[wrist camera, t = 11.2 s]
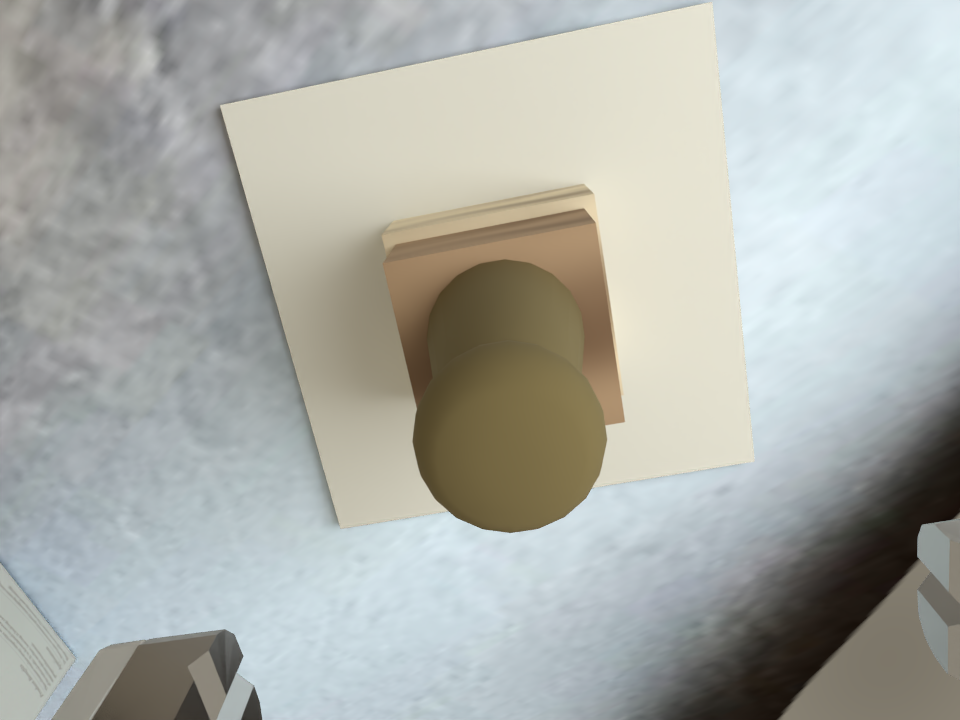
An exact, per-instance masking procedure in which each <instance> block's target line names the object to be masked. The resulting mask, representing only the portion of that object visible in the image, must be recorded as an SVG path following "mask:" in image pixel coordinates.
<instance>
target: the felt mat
mask: <svg viewBox="0 0 960 720" xmlns="http://www.w3.org/2000/svg"><path fill="white" fill-rule="evenodd" d="M220 107H221V111H222V114H223V118H224V121H225V125H226V128H227V132H228V135H229V139H230V142H231V146H232V149H233V153H234V156H235V160H236V163H237V167H238V170H239V174H240V177H241V181H242V184H243V188H244V191H245V195H246V199H247V202H248V206H249V209H250V213H251V216H252V220H253V223H254V227H255V230H256V234H257V237H258V241H259V244H260V248H261V251H262V255H263V258H264V262H265V265H266V269H267V272H268V276H269V279H270V283H271V286H272V290H273V293H274V297H275V300H276V304H277V307H278V311H279V314H280V318H281V321H282V325H283V328H284V332H285V335H286V339H287V343H288V346H289V350H290V353H291V357H292V360H293V364H294V367H295V371H296V374H297V378H298V381H299V385H300V388H301V392H302V395H303V399H304V402H305V406H306V409H307V413H308V416H309V420H310V423H311V427H312V430H313V434H314V437H315V441H316V444H317V448H318V451H319V455H320V458H321V462H322V465H323V469H324V472H325V476H326V479H327V483H328V487H329V490H330V494H331V497H332V501H333V504H334V508H335V511H336V515H337V518H338V522H339V525H340V529H343V528H349V527H355V526H362V525H368V524H374V523H380V522H386V521H392V520H398V519H404V518H411V517H417V516H423V515H429V514H435V513H441V512H447V511H448V510H447V509H446V508H444V507H443V506H442V505H441V504H440V503H439V502H437V501H436V500H435V498H434V497H433V495H432V494H431V492H430V490H429V489H428V487H427V485H426V484H425V482H424V481H423V479H422V477H421V475H420V472H419V469H418V465H417V460H416V456H415V451H414V447H413V443H412V440H413V432H414V423H415V415H416V411H417V407H416V403H415V399H414V395H413V390H412V386H411V382H410V378H409V373H408V369H407V365H406V361H405V356H404V352H403V348H402V344H401V340H400V335H399V331H398V327H397V323H396V318H395V314H394V310H393V306H392V302H391V297H390V293H389V289H388V285H387V280H386V276H385V272H384V268H383V264H382V263H383V262H384V261H385V259H386V258H387V257H386V253H385V248H384V244H383V240H382V236H381V235H382V234H383V232H384V231H385V230H386V229H387V228H388V227H389V225H390V224H391V223H392V222H393V221H395V220H400V219H405V218H410V217H416V216H421V215H426V214H431V213H436V212H441V211H446V210H452V209H457V208H462V207H467V206H472V205H477V204H482V203H488V202H493V201H498V200H503V199H508V198H513V197H518V196H524V195H529V194H534V193H539V192H544V191H549V190H554V189H560V188H565V187H570V186H575V185H580V184H585V185H586V186H587V187H588V188H589V189H590V190H591V191H592V192H593V193H594V195H595V202H596V208H597V215H598V222H599V229H600V236H601V243H602V250H603V256H604V263H605V270H606V277H607V284H608V291H609V298H610V304H611V311H612V318H613V325H614V332H615V339H616V346H617V352H618V359H619V366H620V373H621V380H622V387H623V394H624V395H621V397H622V404H623V411H624V418H625V422H623V423H617V424H611V425H605V427H606V434H607V444H606V448H605V453H604V458H603V463H602V468H601V471H600V475H599V477H598V478H597V480H596V482H595V483H594V485H593V487H592V488H595V487H601V486H607V485H613V484H619V483H625V482H631V481H638V480H644V479H650V478H656V477H662V476H668V475H674V474H681V473H687V472H693V471H699V470H705V469H711V468H717V467H723V466H730V465H736V464H742V463H748V462H754V450H753V439H752V428H751V418H750V407H749V396H748V385H747V374H746V363H745V352H744V342H743V331H742V320H741V309H740V298H739V287H738V276H737V265H736V255H735V244H734V233H733V222H732V211H731V200H730V189H729V179H728V168H727V157H726V146H725V135H724V124H723V113H722V102H721V92H720V81H719V70H718V59H717V48H716V37H715V26H714V16H713V5H712V2H709V3H704V4H700V5H695V6H690V7H685V8H681V9H676V10H671V11H666V12H661V13H657V14H652V15H647V16H642V17H638V18H633V19H628V20H623V21H619V22H614V23H609V24H604V25H600V26H595V27H590V28H585V29H581V30H576V31H571V32H566V33H562V34H557V35H552V36H547V37H543V38H538V39H533V40H528V41H524V42H519V43H514V44H509V45H505V46H500V47H495V48H490V49H486V50H481V51H476V52H471V53H466V54H462V55H457V56H452V57H447V58H443V59H438V60H433V61H428V62H424V63H419V64H414V65H409V66H405V67H400V68H395V69H390V70H386V71H381V72H376V73H371V74H367V75H362V76H357V77H352V78H348V79H343V80H338V81H333V82H329V83H324V84H319V85H314V86H310V87H305V88H300V89H295V90H291V91H286V92H281V93H276V94H271V95H267V96H262V97H257V98H252V99H248V100H243V101H238V102H233V103H229V104H224V105H220Z"/></svg>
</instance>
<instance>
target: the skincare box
mask: <svg viewBox="0 0 960 720" xmlns="http://www.w3.org/2000/svg"><path fill="white" fill-rule="evenodd" d="M75 660H76V658H75V656H74V655H73V654H72V652H71V651H70V650H69V648H68V647H67V646H66V645H65V644H64V642H63V641H62V640H61V639H60V638H59V636H58V635H57V634H56V632H55V631H54V630H53V629H52V627H51V626H50V625H49V624H48V622H47V621H46V620H45V618H44V617H43V616H42V615H41V613H40V612H39V611H38V610H37V608H36V607H35V606H34V605H33V603H32V602H31V601H30V600H29V598H28V597H27V596H26V594H25V593H24V592H23V591H22V589H21V588H20V587H19V586H18V584H17V583H16V582H15V581H14V579H13V578H12V577H11V576H10V574H9V573H8V572H7V571H6V569H5V568H4V567H3V565H2V564H1V563H0V720H35V719H36V717H37V716H38V714H39V713H40V711H41V710H42V708H43V707H44V705H45V704H46V702H47V701H48V699H49V698H50V696H51V695H52V694H53V692H54V691H55V689H56V688H57V686H58V685H59V683H60V682H61V680H62V679H63V677H64V676H65V674H66V673H67V671H68V670H69V668H70V667H71V666H72V664H73V663H74V661H75Z"/></svg>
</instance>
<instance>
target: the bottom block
mask: <svg viewBox="0 0 960 720" xmlns="http://www.w3.org/2000/svg"><path fill="white" fill-rule="evenodd" d="M583 208H584V209H585V210H586V211H587V212H588V214H589V215H590V216H591V217H592V219H593V220H594V221H595V222H596V227H597V234H598V241H599V248H600V255H601V261H602V268H603V275H604V282H605V289H606V295H607V302H608V309H609V316H610V323H611V329H612V336H613V343H614V350H615V357H616V363H617V370H618V377H619V384H620V391H621V395H624V394H623V387H622V380H621V373H620V366H619V359H618V352H617V346H616V339H615V332H614V325H613V318H612V311H611V304H610V298H609V291H608V284H607V277H606V270H605V263H604V256H603V250H602V243H601V236H600V229H599V222H598V215H597V208H596V202H595V195H594V193H593V192H592V191H591V190H590V189H589V188H588V187H587V186H586V185H585V184H580V185H575V186H570V187H565V188H560V189H554V190H549V191H544V192H539V193H534V194H529V195H524V196H518V197H513V198H508V199H503V200H498V201H493V202H488V203H482V204H477V205H472V206H467V207H462V208H457V209H452V210H446V211H441V212H436V213H431V214H426V215H421V216H416V217H410V218H405V219H400V220H395V221H393V222H392V223H391V224H390V225H389V227H388V228H387V229H386V230H385V231H384V232H383V234H382V235H381V236H382V240H383V244H384V248H385V253H386V257H387V256H388V255H389V253H390V252H391V250H392V249H393V247H394V246H395V245H396V244H400V243H406V242H411V241H416V240H421V239H426V238H432V237H437V236H442V235H447V234H452V233H458V232H463V231H468V230H473V229H478V228H484V227H489V226H494V225H499V224H505V223H510V222H515V221H520V220H525V219H531V218H536V217H541V216H546V215H551V214H557V213H562V212H567V211H572V210H578V209H583Z"/></svg>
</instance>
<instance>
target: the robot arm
mask: <svg viewBox="0 0 960 720" xmlns="http://www.w3.org/2000/svg"><path fill="white" fill-rule="evenodd" d="M918 558H919V559H920V560H921V561H922V562H923V563H924V564H925V566H926V567H927V568H928V569H929V570H930V571H931V572H930V574H929V575H928V576H927V578H926V579H925V580H924V581H923V583H922V584H921V585H920V587H919V588H918V610H919V617H920V620H921V624H922V628H923V631H924V635H925V638H926V640H927V642H928V644H929V646H930V648H931V650H932V652H933V654H934V656H935V657H936V659H937V660H938V662H939V663H940V664H941V665H942V667H943V668H944V670H945V671H946V672H947V674H949V675H950V676H953V677H955V678H956V679H958V680H960V519H956V520H949V521H943V522H937V523H931V524H925V525H922V527H921V530H920V532H919V535H918ZM242 658H243V654H242V652H241V650H240V647H239V645H238V642H237V640H236V637H235V635H234V634H233V633H231V632H229V631H227V630H225V629H224V630H216V631H208V632H200V633H192V634H185V635H177V636H169V637H161V638H153V639H149V640H139V641H133V642H126V643H119V644H113V645H110V646H107V647H105V648H103V649H101V650H99V652H98V653H97V655H96V656H95V658H94V659H93V660H92V662H91V663H90V665H89V666H88V668H87V669H86V670H85V672H84V673H83V675H82V676H81V678H80V679H79V681H78V682H77V683H76V685H75V686H74V688H73V689H72V691H71V692H70V693H69V695H68V696H67V698H66V699H65V701H64V702H63V704H62V705H61V706H60V708H59V709H58V711H57V712H56V714H55V715H54V716H53V718H52V719H51V720H262V715H261V708H260V702H259V699H258V696H257V693H256V690H255V687H254V685H252V684H251V683H250V682H248V681H247V680H246V679H244V678H243V677H242V676H240V675H239V674H238V673H236V672H237V670H238V668H239V665H240V663H241V660H242Z"/></svg>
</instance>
